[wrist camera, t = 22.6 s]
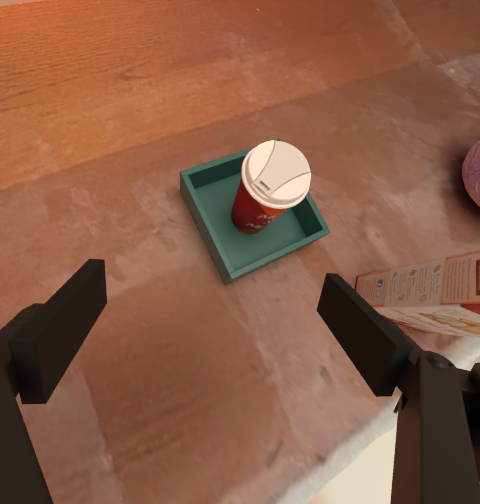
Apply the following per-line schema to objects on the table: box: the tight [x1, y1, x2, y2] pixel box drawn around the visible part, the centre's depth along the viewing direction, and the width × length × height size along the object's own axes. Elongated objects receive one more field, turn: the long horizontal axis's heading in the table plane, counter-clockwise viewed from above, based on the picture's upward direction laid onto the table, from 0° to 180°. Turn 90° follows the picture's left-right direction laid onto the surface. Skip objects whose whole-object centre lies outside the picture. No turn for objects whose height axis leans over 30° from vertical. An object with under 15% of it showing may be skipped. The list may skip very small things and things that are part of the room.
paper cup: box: [231, 140, 311, 234], centre depth 34 cm, size 8×8×14 cm
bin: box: [180, 139, 330, 285], centre depth 39 cm, size 16×16×6 cm
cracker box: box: [356, 250, 480, 337], centre depth 33 cm, size 14×6×21 cm, turn 74°
